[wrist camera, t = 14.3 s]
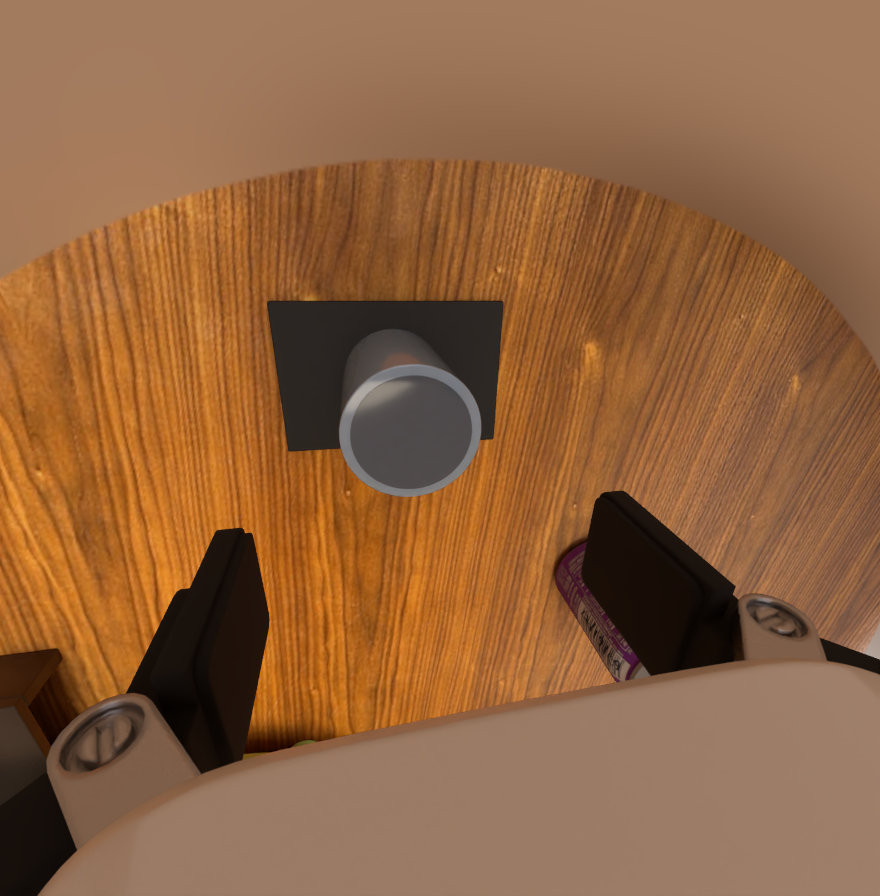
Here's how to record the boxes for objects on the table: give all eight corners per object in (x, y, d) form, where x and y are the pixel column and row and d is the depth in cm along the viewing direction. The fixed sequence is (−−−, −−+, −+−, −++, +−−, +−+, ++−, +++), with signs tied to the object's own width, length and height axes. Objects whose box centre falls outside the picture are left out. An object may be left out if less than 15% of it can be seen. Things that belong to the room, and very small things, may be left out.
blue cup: (346, 428, 30) (344, 503, 21) (338, 329, 27) (332, 366, 18) (441, 423, 31) (478, 492, 22) (443, 328, 28) (486, 362, 19)
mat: (289, 448, 30) (288, 451, 30) (268, 300, 26) (266, 301, 26) (491, 436, 33) (493, 439, 32) (501, 300, 29) (503, 301, 28)
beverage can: (581, 604, 43) (659, 721, 32) (537, 573, 40) (605, 691, 29) (634, 556, 41) (734, 663, 31) (592, 521, 38) (685, 624, 28)
